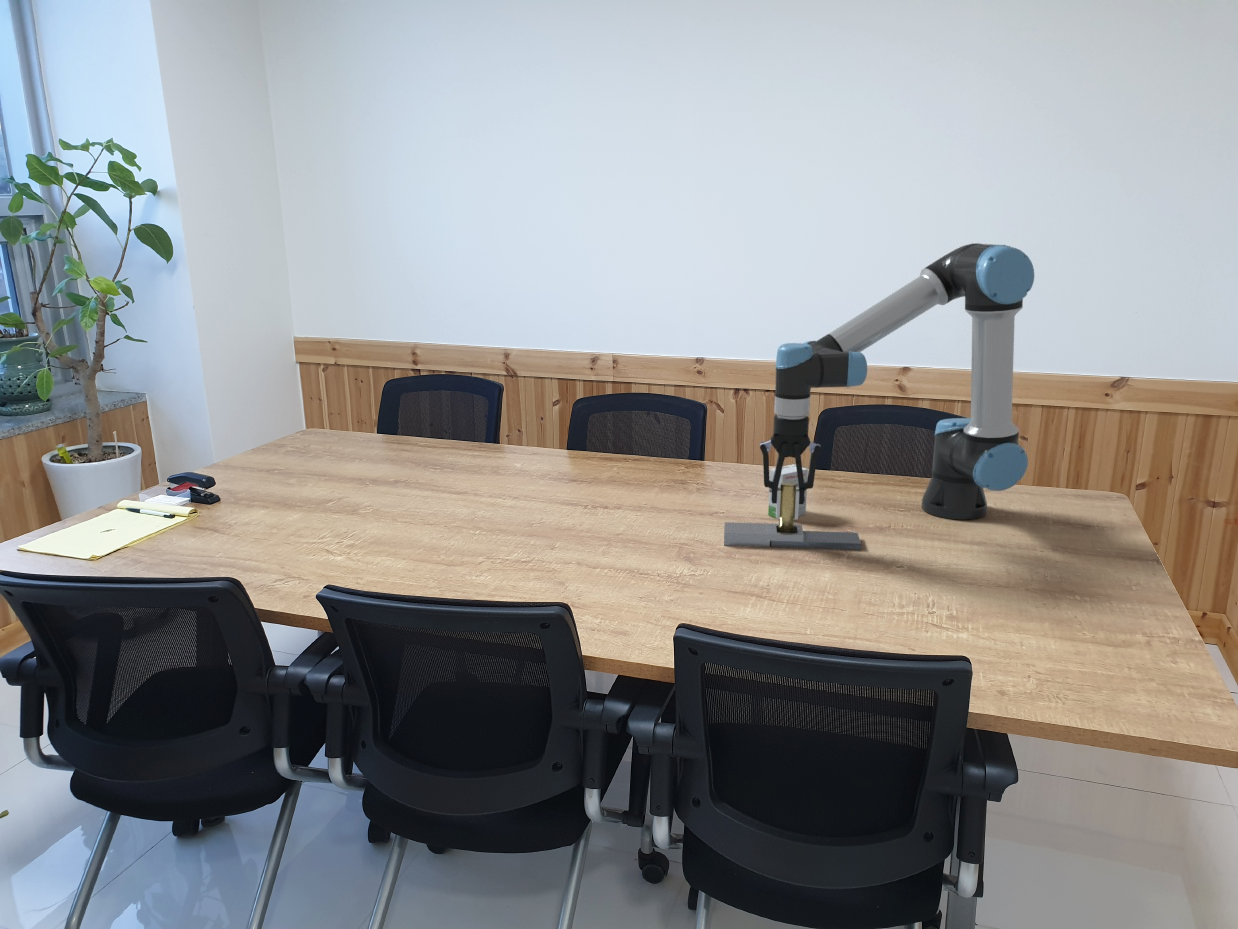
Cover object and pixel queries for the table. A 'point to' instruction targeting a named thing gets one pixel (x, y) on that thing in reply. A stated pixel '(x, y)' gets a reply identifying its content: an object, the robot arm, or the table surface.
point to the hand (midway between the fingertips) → (786, 516)
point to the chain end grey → (758, 534)
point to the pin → (787, 507)
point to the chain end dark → (824, 541)
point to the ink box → (789, 476)
